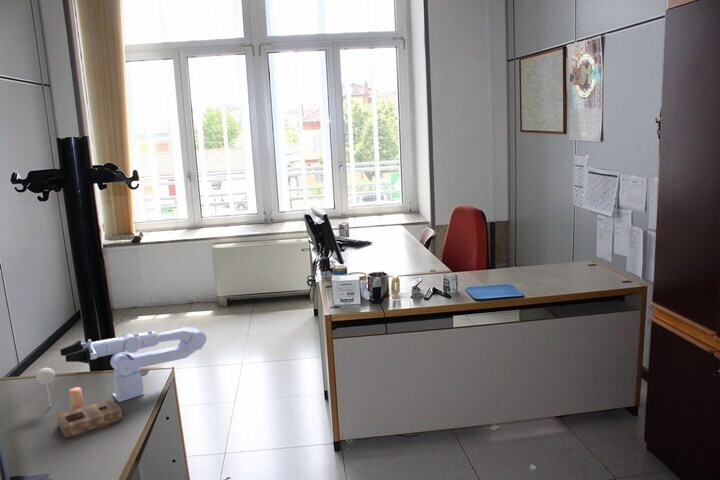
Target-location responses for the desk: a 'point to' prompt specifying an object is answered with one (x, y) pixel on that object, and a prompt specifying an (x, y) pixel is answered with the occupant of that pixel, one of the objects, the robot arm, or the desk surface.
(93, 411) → the socket block
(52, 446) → the desk surface
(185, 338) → the robot arm
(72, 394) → the pin
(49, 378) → the lollipop
